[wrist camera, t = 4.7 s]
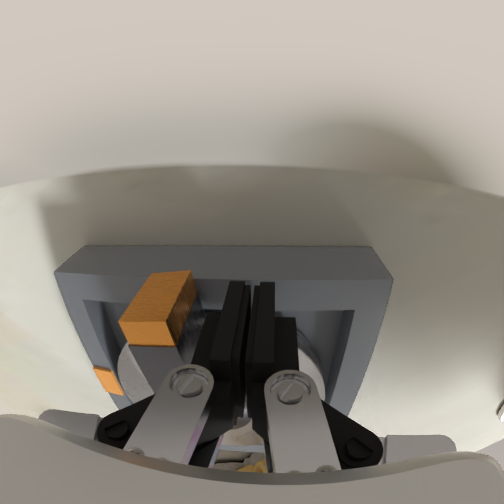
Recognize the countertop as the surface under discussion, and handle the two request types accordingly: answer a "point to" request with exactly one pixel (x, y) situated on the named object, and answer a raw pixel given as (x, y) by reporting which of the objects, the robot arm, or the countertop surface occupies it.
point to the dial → (181, 343)
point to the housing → (252, 272)
